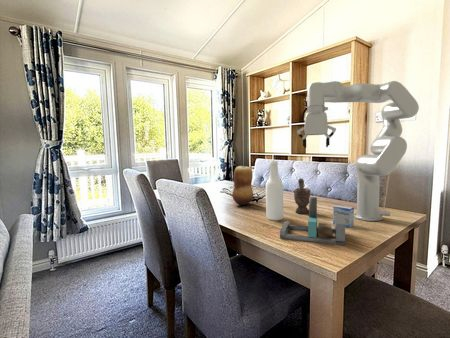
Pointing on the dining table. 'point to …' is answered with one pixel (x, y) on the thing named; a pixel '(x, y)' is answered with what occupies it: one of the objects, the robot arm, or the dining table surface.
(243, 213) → the dining table surface
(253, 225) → the dining table surface
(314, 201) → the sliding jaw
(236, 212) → the dining table surface
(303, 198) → the brown bust statue
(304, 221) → the dining table surface
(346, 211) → the medicine box
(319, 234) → the walnut block
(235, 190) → the butternut squash
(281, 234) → the vise bed
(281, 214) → the alcohol
